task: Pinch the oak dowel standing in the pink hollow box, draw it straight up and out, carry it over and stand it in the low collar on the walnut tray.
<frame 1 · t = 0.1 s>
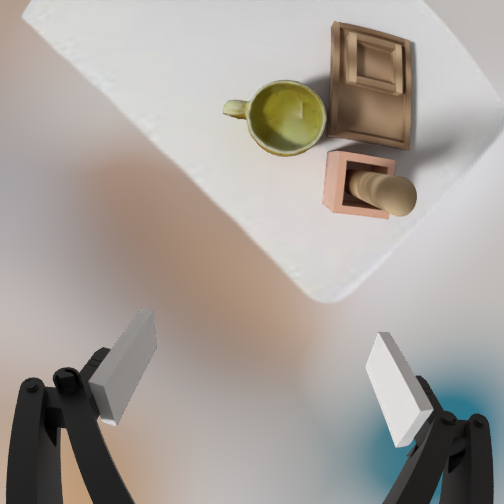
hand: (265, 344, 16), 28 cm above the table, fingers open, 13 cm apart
mug: (273, 121, 38), on the table
pink hollow box: (350, 181, 40), on the table
tray: (369, 85, 35), on the table
dowel: (352, 181, 39), point 1 cm above the table, touching pink hollow box
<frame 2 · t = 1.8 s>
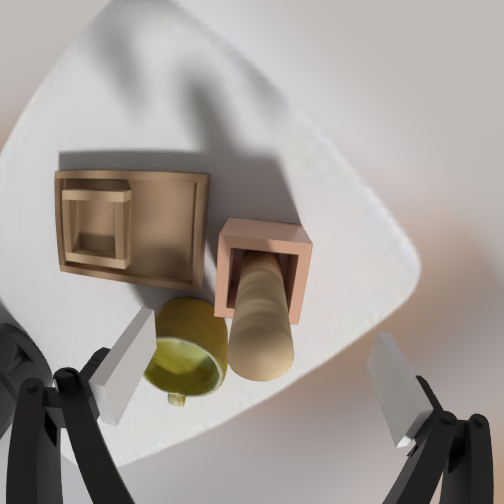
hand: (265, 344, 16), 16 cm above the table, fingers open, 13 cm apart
mug: (191, 336, 35), on the table
pink hollow box: (261, 255, 31), on the table
tray: (127, 224, 31), on the table
dowel: (261, 258, 30), point 1 cm above the table, touching pink hollow box
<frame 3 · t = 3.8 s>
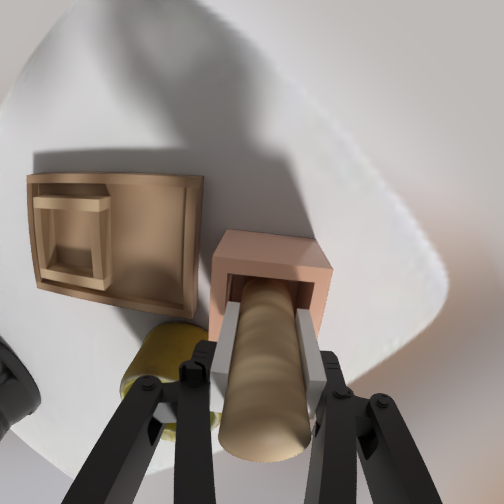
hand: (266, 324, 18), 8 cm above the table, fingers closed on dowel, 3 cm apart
mug: (184, 364, 30), on the table
pink hollow box: (266, 275, 26), on the table
tray: (108, 236, 25), on the table
dowel: (266, 280, 25), point 1 cm above the table, touching pink hollow box, gripper
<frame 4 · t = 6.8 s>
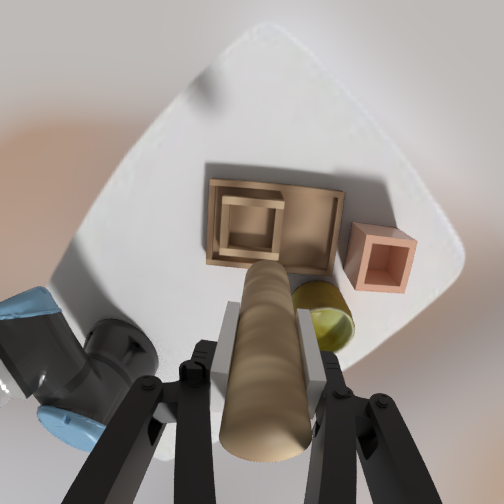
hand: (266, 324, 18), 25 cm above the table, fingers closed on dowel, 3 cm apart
mug: (311, 313, 46), on the table
pink hollow box: (370, 249, 42), on the table
tray: (273, 225, 42), on the table
dowel: (266, 279, 25), point 18 cm above the table, touching gripper
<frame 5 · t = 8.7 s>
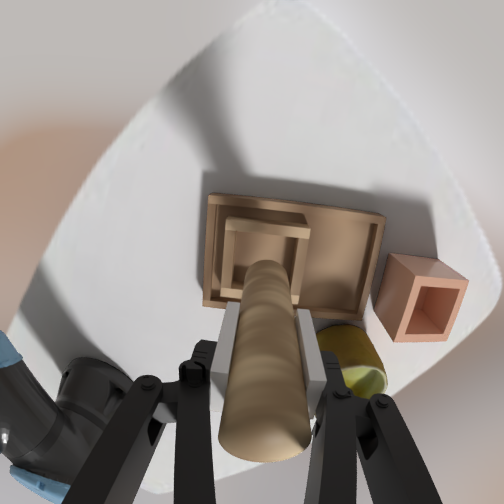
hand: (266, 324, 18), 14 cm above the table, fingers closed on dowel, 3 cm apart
mug: (331, 359, 36), on the table
pink hollow box: (407, 284, 32), on the table
tray: (291, 256, 32), on the table
dowel: (266, 279, 25), point 7 cm above the table, touching gripper
when the fingers open (10 cm above the table, at t = 10.1 s): dowel drops 2 cm, resting on tray.
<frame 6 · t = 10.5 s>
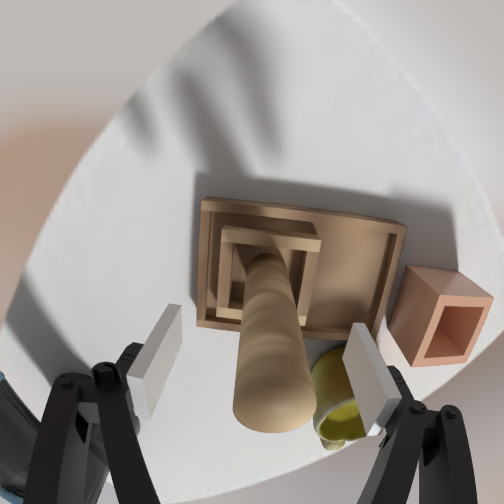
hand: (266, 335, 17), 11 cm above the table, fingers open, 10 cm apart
mug: (339, 379, 32), on the table
pink hollow box: (424, 300, 28), on the table
tray: (297, 270, 28), on the table
dowel: (266, 272, 27), point 1 cm above the table, touching tray
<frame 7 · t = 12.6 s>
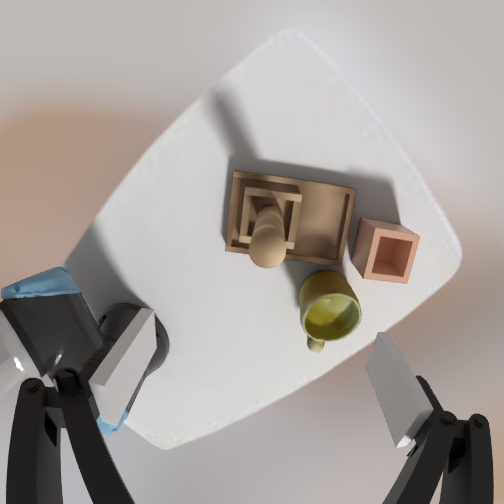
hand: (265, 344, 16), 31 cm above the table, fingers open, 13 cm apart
mug: (320, 301, 49), on the table
pink hollow box: (376, 243, 45), on the table
tray: (289, 217, 45), on the table
dowel: (270, 216, 44), point 1 cm above the table, touching tray
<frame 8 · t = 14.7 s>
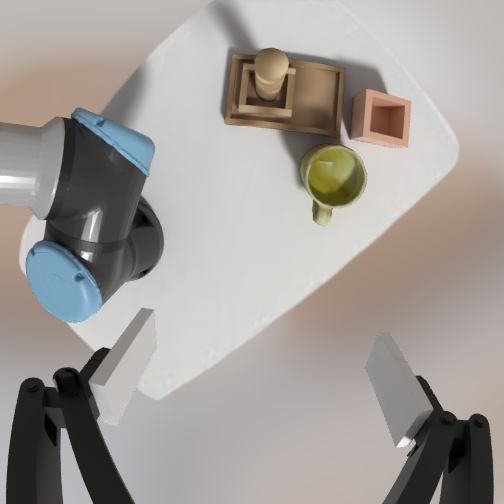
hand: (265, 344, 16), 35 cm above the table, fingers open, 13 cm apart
mug: (322, 181, 47), on the table
pink hollow box: (372, 122, 43), on the table
tray: (285, 95, 43), on the table
dowel: (267, 91, 41), point 1 cm above the table, touching tray
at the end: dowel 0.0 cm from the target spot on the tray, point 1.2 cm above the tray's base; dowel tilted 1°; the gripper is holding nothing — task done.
